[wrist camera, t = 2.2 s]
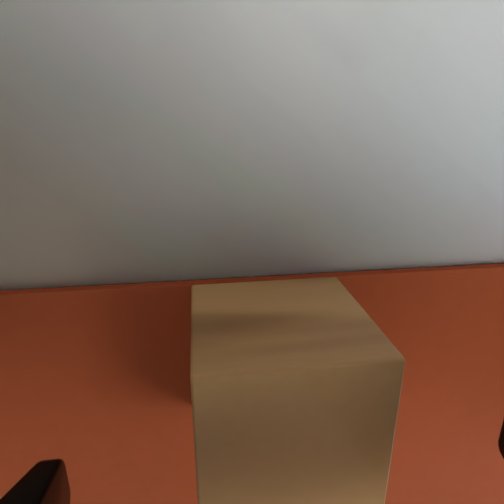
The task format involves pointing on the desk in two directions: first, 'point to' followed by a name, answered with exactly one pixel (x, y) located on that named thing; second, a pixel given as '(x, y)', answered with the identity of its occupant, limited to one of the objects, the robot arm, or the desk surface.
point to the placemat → (179, 388)
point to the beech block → (290, 394)
